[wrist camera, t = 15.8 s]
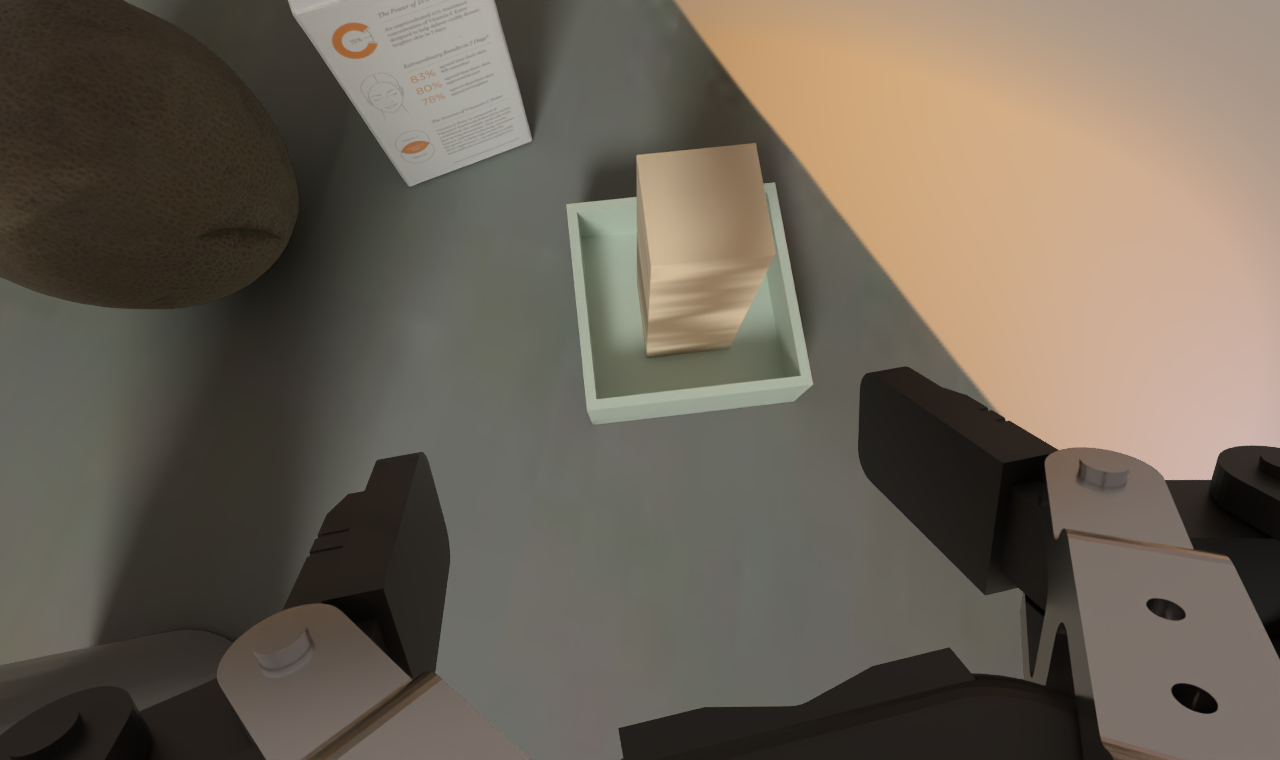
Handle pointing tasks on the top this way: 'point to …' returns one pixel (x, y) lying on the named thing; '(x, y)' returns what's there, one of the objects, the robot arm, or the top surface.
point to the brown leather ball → (132, 161)
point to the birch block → (699, 246)
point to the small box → (423, 77)
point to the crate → (687, 383)
